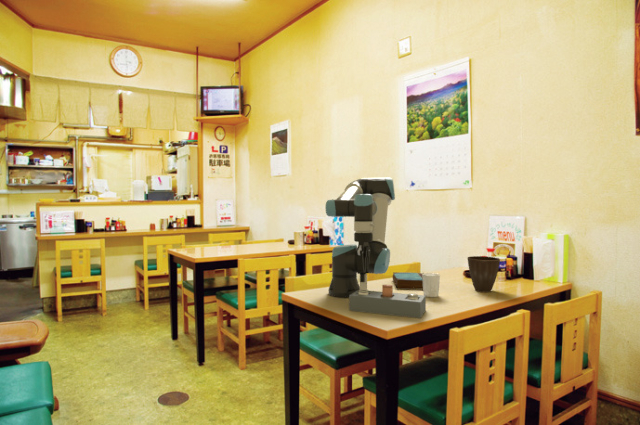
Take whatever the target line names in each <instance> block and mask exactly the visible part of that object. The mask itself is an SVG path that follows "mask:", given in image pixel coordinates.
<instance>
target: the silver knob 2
mask: <svg viewBox="0 0 640 425" xmlns="http://www.w3.org/2000/svg"><path fill="white" fill-rule="evenodd" d="M406 294H407V299H415V300H418V295H419V294H417V293H406Z"/></svg>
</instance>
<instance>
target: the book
mask: <svg viewBox="0 0 640 425" xmlns="http://www.w3.org/2000/svg"><path fill="white" fill-rule="evenodd" d="M423 273H424V272H397V271H396V272H392V281H393V283H394V284H395V286H396V288H397V289H399V290H402V289H404V290H405V289H406V290H408V289H409V290H423V279H422V274H423Z"/></svg>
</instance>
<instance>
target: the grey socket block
mask: <svg viewBox="0 0 640 425" xmlns="http://www.w3.org/2000/svg"><path fill="white" fill-rule="evenodd" d="M407 294H408V293H401V292H400V293H399V292H393V297H382V291H379V290H377V291H376V290H368V295H360V294H359V290H358V291H356V292H354V293H353V294H351V295H349V297H348V298H349V299H348V300H349V302H348V308H349V309H348V310H351V312H359V313H370V314H377V313H378V314H379V315H386V314H387V315H388V316H395V315H396V317H404V316H407V317H408V318H415V319H421V318H422V317H423V315H424V314H425V312H426V309H427V308H426V307H427V305H426V304H427V302H426V301H427V297H426V296H425V295H424V294H418V300H415V299H407ZM378 314H377V315H378ZM407 317H406V318H407Z"/></svg>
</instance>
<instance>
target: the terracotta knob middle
mask: <svg viewBox="0 0 640 425" xmlns="http://www.w3.org/2000/svg"><path fill="white" fill-rule="evenodd" d="M393 288H394V286H393V285H392V284H382V289H381V292H382V297H393V293H394V292H393Z"/></svg>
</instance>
